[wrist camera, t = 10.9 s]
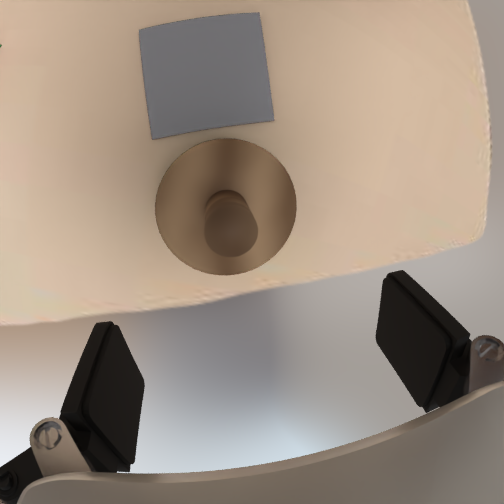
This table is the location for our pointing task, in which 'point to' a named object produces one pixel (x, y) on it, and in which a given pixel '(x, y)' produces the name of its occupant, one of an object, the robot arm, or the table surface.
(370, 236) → the table surface
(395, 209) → the table surface
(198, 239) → the lid
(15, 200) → the table surface
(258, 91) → the mat
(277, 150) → the table surface
